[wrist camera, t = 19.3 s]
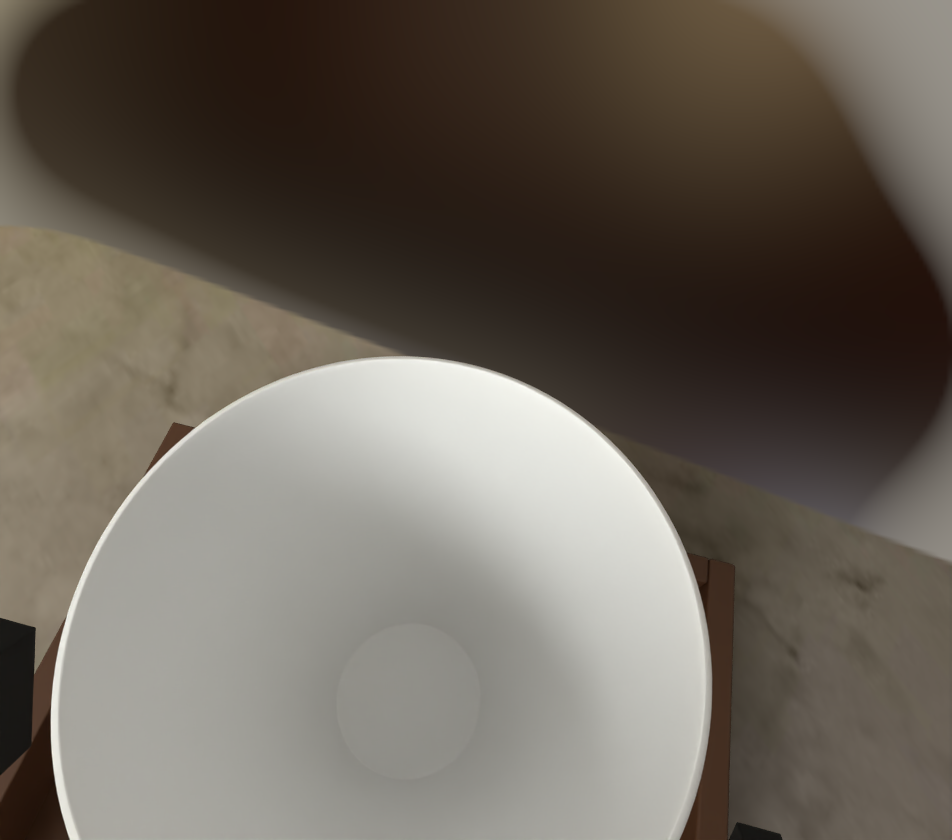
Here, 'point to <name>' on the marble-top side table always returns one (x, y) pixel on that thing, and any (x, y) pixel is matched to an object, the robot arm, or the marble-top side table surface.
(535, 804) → the mug
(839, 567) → the marble-top side table surface
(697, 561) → the tray
